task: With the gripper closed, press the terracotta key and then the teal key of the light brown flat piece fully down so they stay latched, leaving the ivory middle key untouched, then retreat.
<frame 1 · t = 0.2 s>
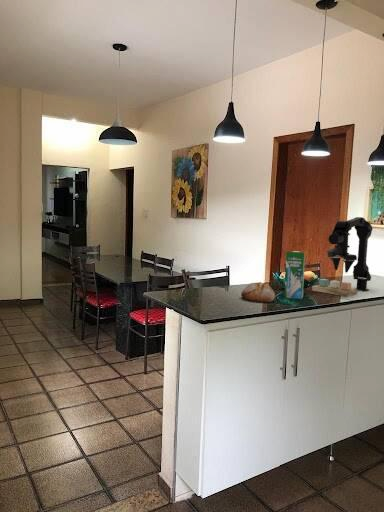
hand: (341, 271, 229), 13 cm above the countertop, fingers open, 9 cm apart
key teal: (323, 282, 243), point 5 cm above the countertop, slide at 0.0 cm
milk carton: (293, 297, 220), on the countertop
key terracotta: (346, 285, 233), point 5 cm above the countertop, slide at 0.0 cm
bread: (258, 299, 213), on the countertop
light brown flat piece: (334, 292, 238), on the countertop
key ivory: (334, 284, 238), point 5 cm above the countertop, slide at 0.0 cm
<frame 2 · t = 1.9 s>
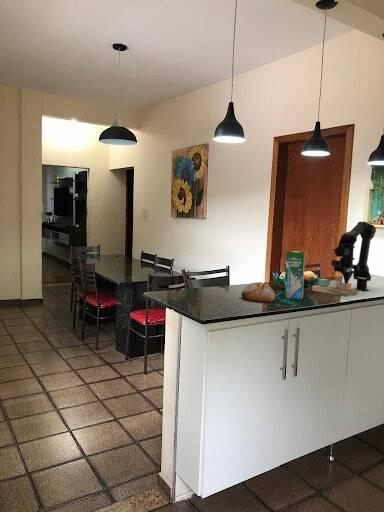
hand: (346, 283, 233), 6 cm above the countertop, fingers closed, pressing on key terracotta
key terracotta: (345, 286, 233), point 4 cm above the countertop, slide at 0.3 cm, touching gripper
everything else where it was.
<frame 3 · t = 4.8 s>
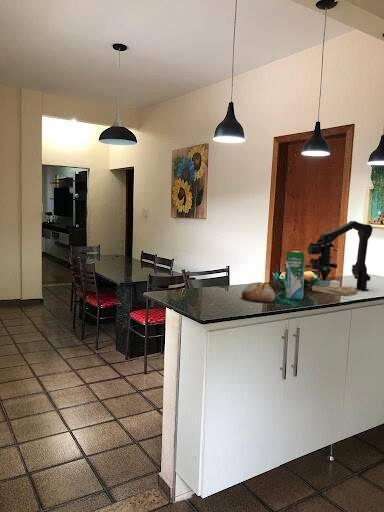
hand: (324, 280, 243), 6 cm above the countertop, fingers closed, pressing on key teal
key teal: (323, 283, 243), point 4 cm above the countertop, slide at 0.7 cm, touching gripper
key terracotta: (345, 289, 233), point 2 cm above the countertop, slide at 2.3 cm
everything else where it was.
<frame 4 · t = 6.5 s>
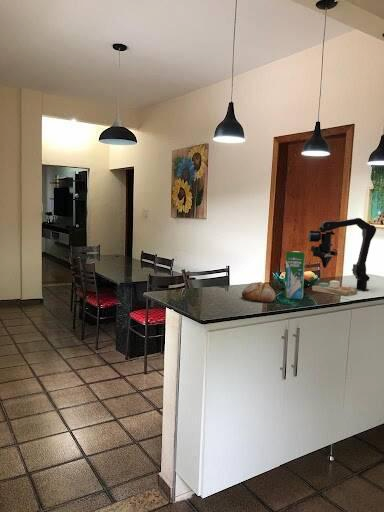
hand: (324, 267, 247), 13 cm above the countertop, fingers closed
key teal: (323, 286, 243), point 2 cm above the countertop, slide at 2.3 cm
everything else where it was.
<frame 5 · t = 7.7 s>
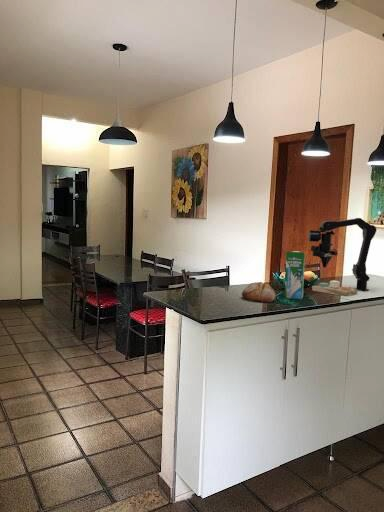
hand: (324, 267, 248), 13 cm above the countertop, fingers closed
nothing on the countertop moved.
at the end: key terracotta slide at 2.3 cm; key teal slide at 2.3 cm; key ivory slide at 0.0 cm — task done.
